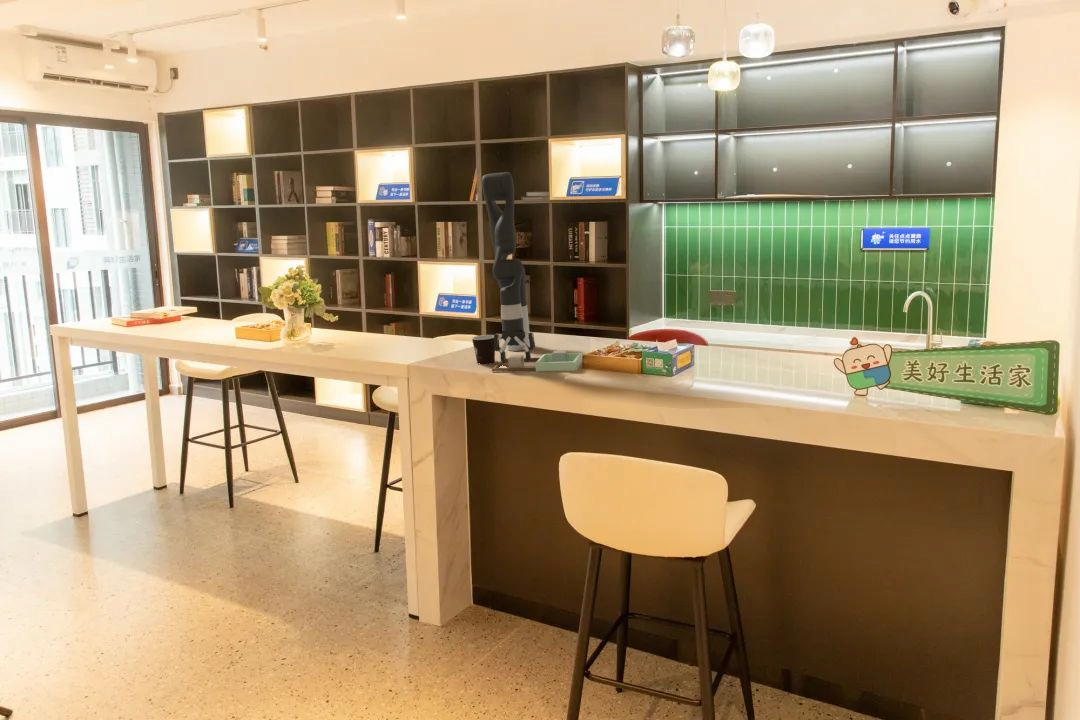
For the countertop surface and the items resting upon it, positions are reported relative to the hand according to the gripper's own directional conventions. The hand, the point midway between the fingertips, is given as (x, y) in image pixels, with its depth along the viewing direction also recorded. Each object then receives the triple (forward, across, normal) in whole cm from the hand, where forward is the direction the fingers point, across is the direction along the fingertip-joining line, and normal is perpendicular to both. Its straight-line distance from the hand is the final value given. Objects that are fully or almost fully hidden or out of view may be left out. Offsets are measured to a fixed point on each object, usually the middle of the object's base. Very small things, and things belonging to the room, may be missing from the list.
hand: (516, 362), depth 292 cm
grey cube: (+2, -15, -5) cm, 16 cm away
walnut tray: (+3, 0, -4) cm, 5 cm away
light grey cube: (+3, 0, 0) cm, 3 cm away
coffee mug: (+3, +15, -13) cm, 20 cm away
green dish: (+3, -15, -2) cm, 15 cm away
